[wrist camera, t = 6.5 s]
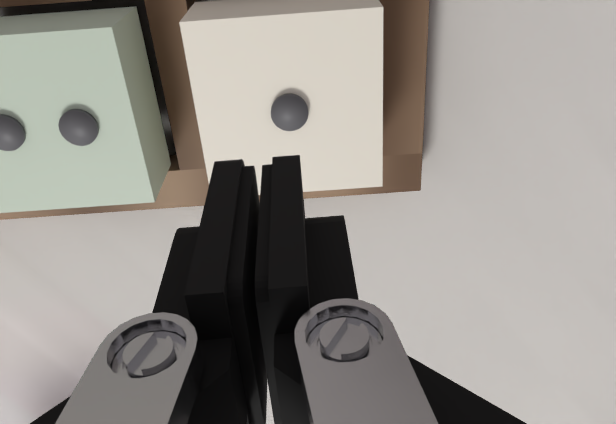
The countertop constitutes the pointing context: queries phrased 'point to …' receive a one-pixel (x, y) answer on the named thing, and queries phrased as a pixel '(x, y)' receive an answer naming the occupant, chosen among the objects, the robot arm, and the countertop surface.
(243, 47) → the tile one
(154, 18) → the board
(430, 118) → the countertop surface
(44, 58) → the tile two
